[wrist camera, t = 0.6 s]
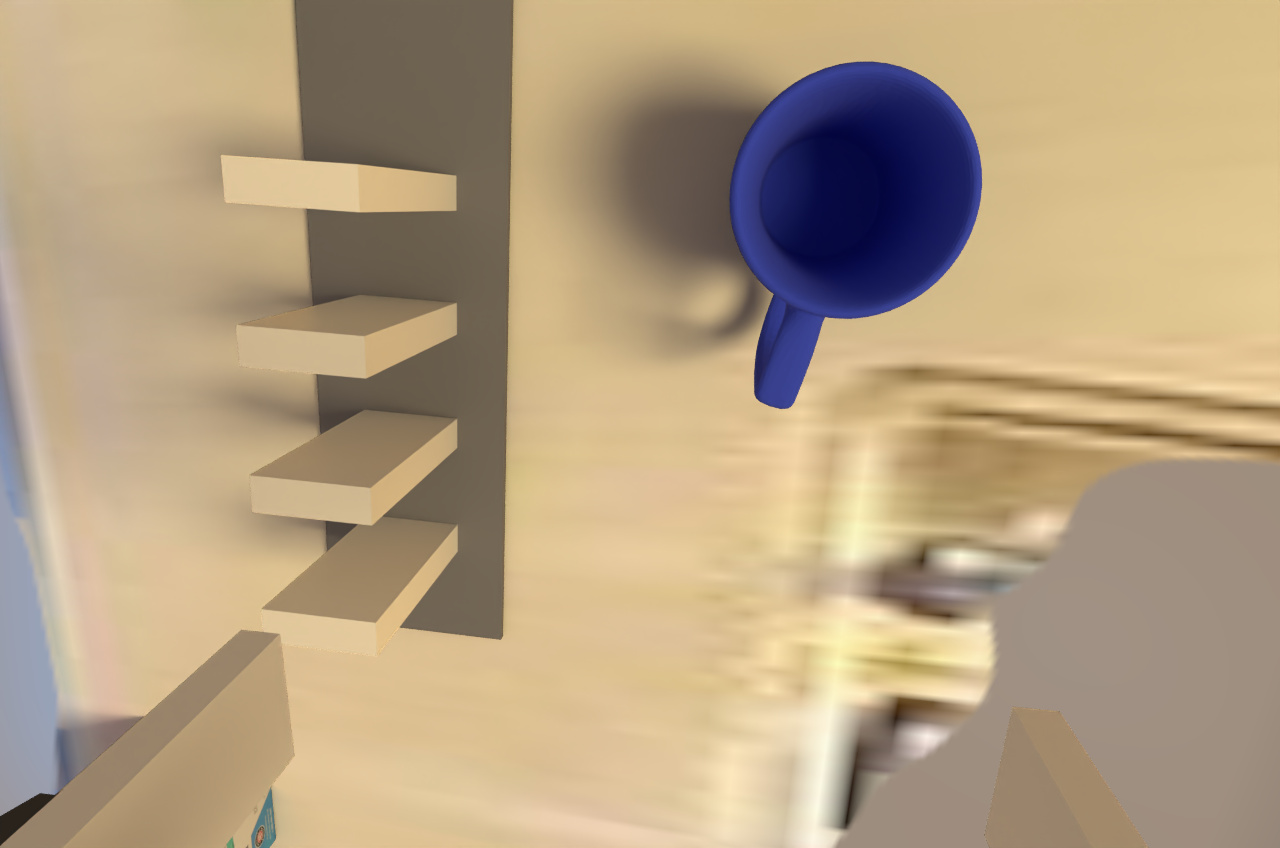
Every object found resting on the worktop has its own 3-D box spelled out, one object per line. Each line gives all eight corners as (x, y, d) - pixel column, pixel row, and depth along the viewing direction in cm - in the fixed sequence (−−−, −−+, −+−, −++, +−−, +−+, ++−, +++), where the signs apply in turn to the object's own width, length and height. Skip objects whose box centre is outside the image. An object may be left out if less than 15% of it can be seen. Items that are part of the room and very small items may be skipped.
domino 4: (368, 515, 41) (260, 609, 31) (457, 524, 40) (375, 622, 31) (369, 541, 41) (264, 642, 32) (457, 551, 41) (377, 656, 31)
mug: (680, 335, 37) (665, 381, 27) (761, 78, 33) (777, 27, 24) (840, 386, 37) (881, 449, 27) (939, 133, 33) (1027, 103, 23)
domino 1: (354, 168, 36) (220, 154, 26) (456, 175, 35) (357, 164, 26) (356, 203, 36) (224, 202, 27) (456, 210, 36) (359, 212, 26)
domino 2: (359, 294, 37) (235, 325, 28) (456, 302, 37) (364, 336, 28) (361, 326, 38) (239, 366, 28) (456, 334, 38) (366, 378, 28)
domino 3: (364, 409, 39) (249, 475, 30) (457, 418, 39) (370, 487, 29) (365, 438, 40) (252, 512, 30) (457, 447, 39) (371, 525, 30)
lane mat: (297, -50, 34) (292, -53, 33) (514, -41, 33) (511, -43, 32) (334, 615, 43) (331, 619, 43) (503, 635, 43) (500, 639, 42)
